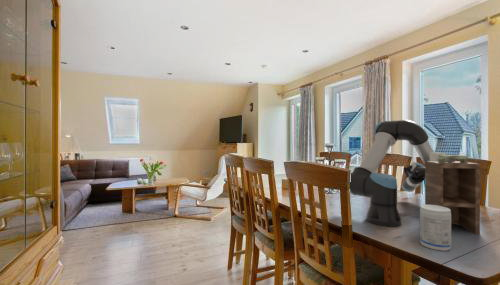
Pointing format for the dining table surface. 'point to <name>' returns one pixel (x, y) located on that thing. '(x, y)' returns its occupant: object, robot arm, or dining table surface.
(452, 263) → the dining table surface
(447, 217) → the supplement tub
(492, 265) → the dining table surface
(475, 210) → the shelf
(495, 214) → the dining table surface
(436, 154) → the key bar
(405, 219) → the dining table surface
